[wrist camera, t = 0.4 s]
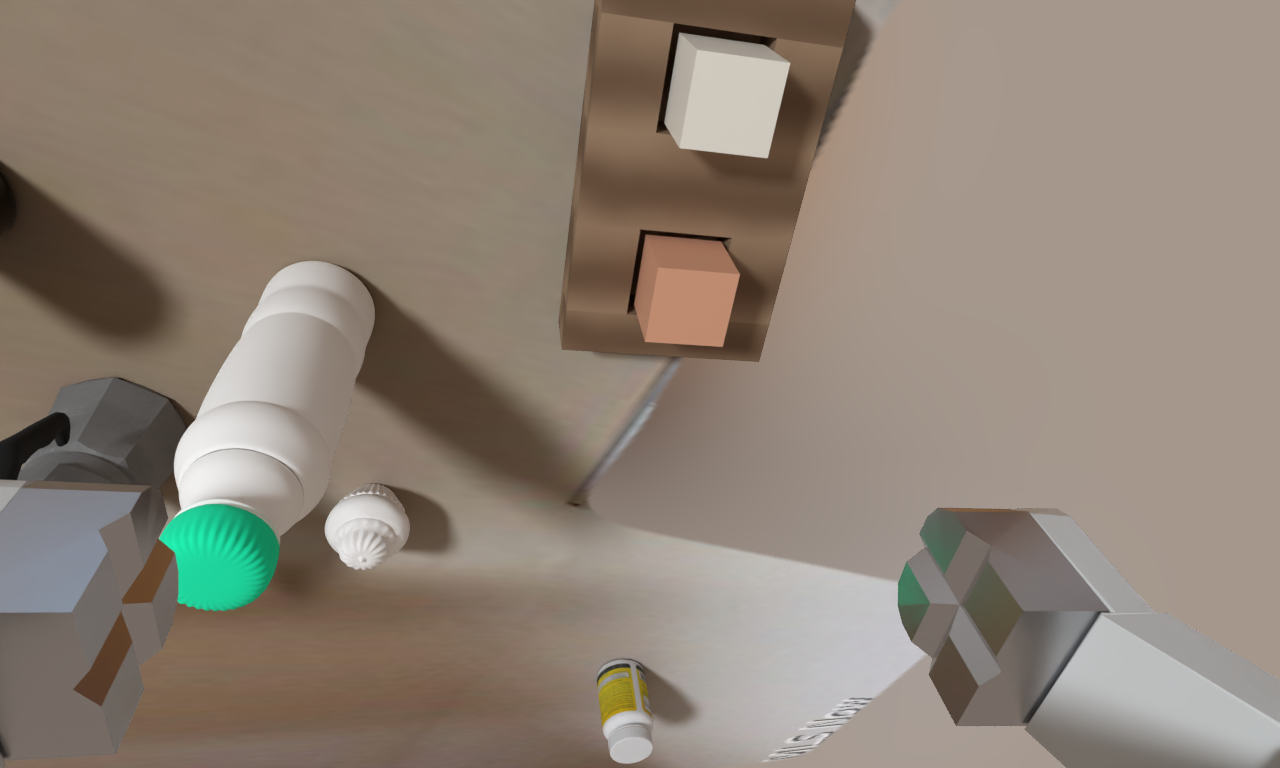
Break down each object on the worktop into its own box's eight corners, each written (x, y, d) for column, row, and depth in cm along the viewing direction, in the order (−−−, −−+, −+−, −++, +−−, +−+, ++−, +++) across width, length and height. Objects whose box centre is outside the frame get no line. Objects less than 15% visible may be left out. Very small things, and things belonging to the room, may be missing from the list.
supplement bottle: (587, 681, 79) (595, 760, 72) (611, 652, 78) (622, 730, 71) (628, 692, 81) (639, 770, 74) (652, 664, 79) (667, 741, 72)
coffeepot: (197, 505, 61) (98, 711, 46) (57, 493, 59) (-95, 706, 44) (189, 332, 54) (68, 512, 39) (28, 310, 51) (-167, 493, 36)
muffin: (404, 462, 62) (394, 524, 56) (421, 521, 65) (413, 585, 60) (323, 474, 61) (304, 538, 56) (344, 532, 65) (329, 598, 59)
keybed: (601, -57, 45) (608, -51, 41) (833, -19, 47) (858, -10, 44) (558, 321, 57) (562, 349, 54) (744, 334, 60) (758, 361, 57)
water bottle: (398, 304, 55) (333, 573, 34) (332, 368, 57) (233, 659, 36) (310, 235, 51) (178, 487, 30) (243, 305, 53) (76, 587, 32)
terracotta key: (645, 234, 51) (658, 267, 47) (721, 241, 52) (740, 274, 48) (634, 304, 53) (645, 341, 49) (706, 310, 54) (722, 346, 50)
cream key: (679, 32, 44) (697, 49, 40) (764, 44, 45) (790, 62, 41) (664, 123, 47) (679, 148, 43) (744, 133, 48) (767, 158, 44)
